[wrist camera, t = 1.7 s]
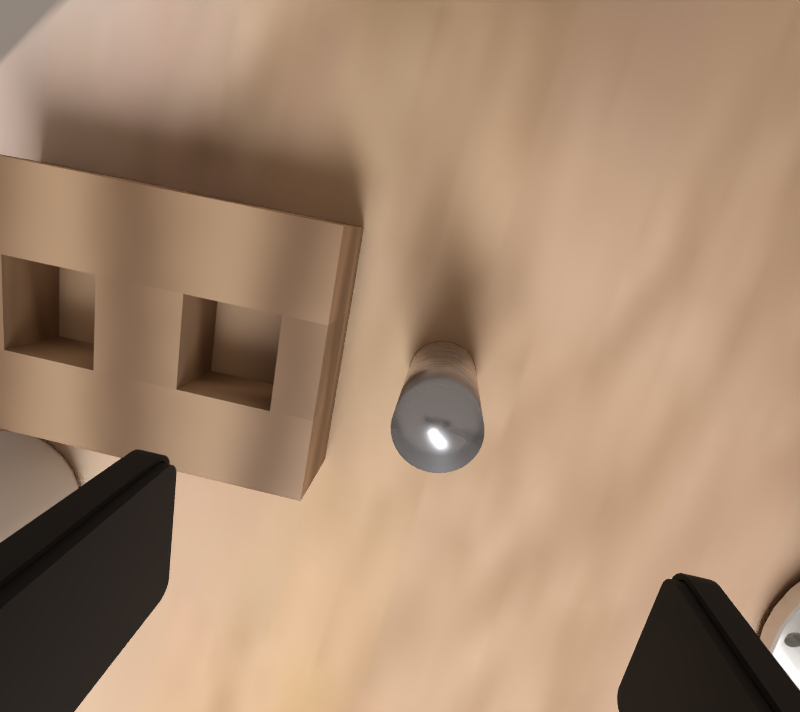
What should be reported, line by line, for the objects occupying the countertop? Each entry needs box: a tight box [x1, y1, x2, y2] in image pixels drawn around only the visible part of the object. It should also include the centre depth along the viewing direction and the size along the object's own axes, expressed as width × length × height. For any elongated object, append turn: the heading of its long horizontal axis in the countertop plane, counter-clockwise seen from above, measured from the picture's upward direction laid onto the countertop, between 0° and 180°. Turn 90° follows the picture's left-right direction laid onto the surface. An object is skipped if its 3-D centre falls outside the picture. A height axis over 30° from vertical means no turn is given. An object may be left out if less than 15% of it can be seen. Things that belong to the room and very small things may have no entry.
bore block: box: [0, 155, 364, 501], centre depth 22 cm, size 16×12×4 cm
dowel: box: [391, 341, 484, 473], centre depth 20 cm, size 3×3×7 cm
